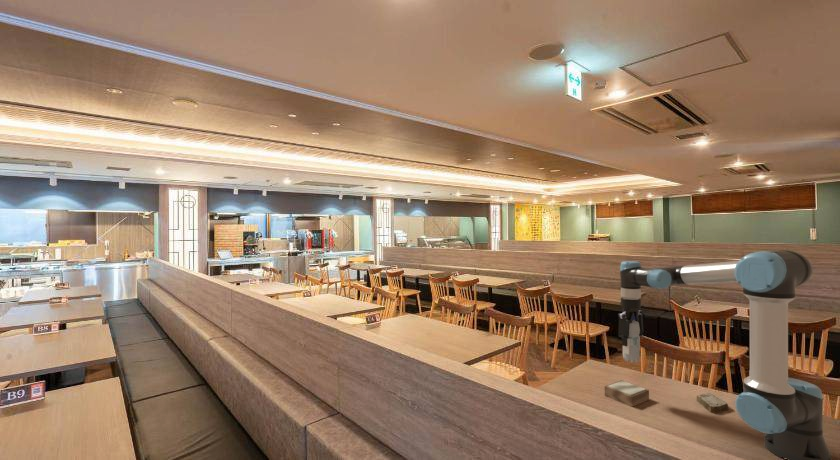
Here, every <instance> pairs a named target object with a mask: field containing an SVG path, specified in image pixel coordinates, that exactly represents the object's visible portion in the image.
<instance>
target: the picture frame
mask: <svg viewBox="0 0 840 460" xmlns="http://www.w3.org/2000/svg"><path fill="white" fill-rule="evenodd" d="M604 396H605V397H607V398H609V399H613V400H615V401H617V402H619V403H622V404H624V405H627V406H629V407H631V408H632V407H635V406H637V405H641V403H644V402H648V401H649V400H650V390H649V389H646V388H644V387H641V386H639V385H636V384H634V383H630V382H628V381H624V380H621V379H620V380H619V381H616V382H613V383H610V384H608V385H605V386H604Z"/></svg>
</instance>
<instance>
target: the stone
mask: <svg viewBox="0 0 840 460" xmlns="http://www.w3.org/2000/svg"><path fill="white" fill-rule="evenodd" d="M696 402H697V403H699V405H701V406H702V407H704V409H705V410H707V412H709V413H711V414H718V413H721V412H726V411H729V404H728V403H727V402H726V401H725V400H723V399H722V398H719V397H717V396H716V395H714V394H712V393H709V392H706V393H701V394H700V393H699V394H697V395H696Z"/></svg>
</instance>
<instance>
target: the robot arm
mask: <svg viewBox="0 0 840 460" xmlns="http://www.w3.org/2000/svg"><path fill="white" fill-rule="evenodd" d="M619 269H620V270H619V275H620V276H619V277H620V297H621V298H620V307H622V313H620V312H619V313H618V314H617V315H618V332H617V333H618V335H617V336H618V338H619V337H620V338H621V340H622V341H621V345H622V354H623V353H626V354H630V339H629V338H628V336H629V326H630V323H632V321H633V317H634V316H635V321H637V322H638V323H639V327H640V334H639V352H640V351H641V350H640V349H641V343H640V342H641V337H643V335H644V319H643V318H644V310H641V308H642V299H641V298H642V291H641V290H642V287H645V288H652V289H656V290H657V289H659V290H660V289H661V290H665V289H667V288H668V287H670V286H671V287H672V286H684V285H685V286H686V285H707V284H709V285H710V284H730V283H731V284H734V283H737V284H739V285H740V286H741V287H742V295H744V296H745V298H747V299H748V301H749V375H748V376H746V377H744V379H743V383H742V384H743V387H742V389H743V390H742V391H743V392H740V394H738V395H737V396H736V398H735V402H734V404H735V409H736V412H737V413H738V414H737V415H738V416H739V417H740V418H741V419H742V420H743V421H744V422H745V423H746V424H747V425H748V426H749V427H750V428H752V429H754V430H756V431H757V432H760V433H763V434H764V437H763V438H764V439H763V442H764V443H763V444H764V447H765V448H766V449H767V451H769V452H770V451H771V454H773V453H774V455H775V454H776V455H775V456H777V455H778V456H777V457H779V456H780V457H779V458H781V457H783V458H787V459H789V460H832V459H833V457H832V454H831V452H830V449H829V447H828V445H827V442H826V440H825V437H824V430H823V427H824V426H823V425H824V421H823V419H824V418H823V416H824V415H823V410H824V409H823V408H824V407H823V403H824V402H823V400H824V397H823V391H822V390H821V388H820V387H819V386H818V385H816V384H814V383H811V382H808V381H805V380H802V379H797V378H793V377H789V303H790V302H793V300H795V299H796V288H797V287H800V286H802V285H804V284H806V283H807V282H809V280H810V279H811V277H812V275H813V265H812V263H811V262H810V260H809V259H808V258H807V257H806V256H805V255H803V254H802V253H799V252H797V251H794V250H789V249H781V250H779V249H778V250H766V251H765V250H763V251H755V252H751V253H748V254H745V255H744V256H743V257H741V258H740V259H739V260H733V261H732V260H731V261H723V262H722V261H720V262H711V263H700V264H688V265H678V266H677V265H675V266H668V267H666V266H665V267H657V268H656V267H655V268H653V267H652V268H651V267H642V266H641V262H640V261H635V260H633V261H632V260H624V261H621V262H620V267H619ZM641 286H642V287H641ZM783 458H782V459H783Z"/></svg>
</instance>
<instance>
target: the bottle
mask: <svg viewBox="0 0 840 460" xmlns="http://www.w3.org/2000/svg"><path fill="white" fill-rule="evenodd" d="M639 334H640V327H639V323H638V322H637V321H635V316H634V317H633V321H632V323H630V326H629V336H628V338H629V339H630V354H626V353H623V352H622V358H623V360H624V361H625V362H627V363H629V362H631V363H632V364H633V363H636V364H637V363H638V362H639V361H640V357H641V356H640V354H641V353H640V351H639Z"/></svg>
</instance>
